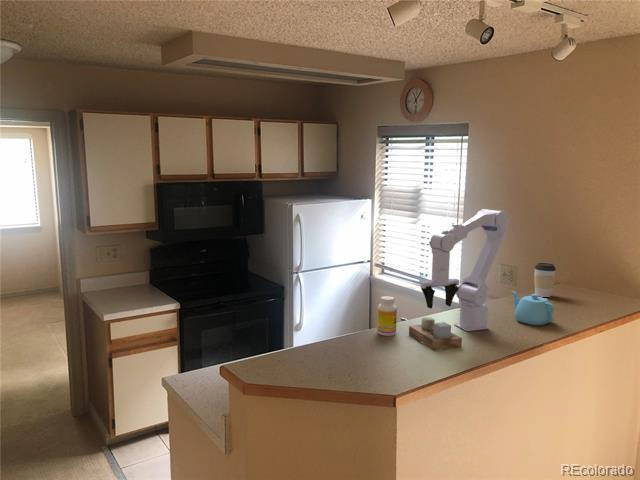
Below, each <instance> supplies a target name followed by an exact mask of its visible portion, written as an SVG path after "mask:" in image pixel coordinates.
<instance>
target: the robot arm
mask: <svg viewBox="0 0 640 480" xmlns="http://www.w3.org/2000/svg"><path fill="white" fill-rule="evenodd" d="M510 224H511V220H510V217H509V214H508V212H507V211H506V210H496V209H495V210H494V209H487V208H482V209H481V210H479V211H477V212H476V214H475V215H474V216H472V217H471V218H470V219H468V220H466V221H465V222H464V223H462V224H461V223H456V222H455V223H453V224H452V226H451V227H448V228H447V229H444V230H443V231H442V232H441V233H440V232H439V233H437V232H436V233H435V234H433V235H432V236H431V237H430V240H429V242H428V243H429V246H430V249H431V254H432V263H431V268H432V269H431V279H428V280H425V281H420V283H419V284H420V287H419V288H420V289H421V291H422V294H423V296H424V300H425V302H426V308H428V309H433V304H434V296H435V292H436V290H435V289H433V288H437V287H444V293H445V305H446V306H448V307H452V303H453V300H454V298H455V295H456V297H457V298H458V301H459V303H460V305H459V307H460V308H459V322H457V323H454V324H453V325H454V326H456V327H458V328H459V329H461V330H464V331H466V332H471V331H479V330H480V331H481V330H489V326H488V319H489V317H488V316H489V310H488V307H487V304H485V302H486V300H487V296H488V291H489V286H488V284H487V282H486V280H487V277H488V275H489V273H490V271H491V268H492V266H493V264H494V261H495V260H496V259H495V258H496V257H497V254H498V252H499V249H500V248H501V245H502V243H503V241H504V237H505V234H506V232H507V230H508V228H509V226H510ZM480 227H481V229H482V231H483V233H484V234H485V235H486V239H485V242H484V244H483V245H482V248H481V249H480V250H481V251H480V253H479V255H478V257H477V260H476V262H475V263H474V266H473V268H472V271H471V273H470V275H469V276H467V277H465V278H463V279H462V281H461V283H460V279H457V278H449V277H450V257H451V252H452V251H453V249H454V247H455V245H456V244H458V243H460V242H461V241H463V240H465V239H466V238H467V236H468V233H470V232H472V231H475V230H476V229H478V228H480Z"/></svg>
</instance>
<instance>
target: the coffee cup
mask: <svg viewBox="0 0 640 480" xmlns="http://www.w3.org/2000/svg"><path fill="white" fill-rule="evenodd" d="M533 269H534V274H533V276H534V277H533V279H534V294H537V295H539V296H541V297H550V296H551V297H552V294H553V288H554V284H555V278H556V271H557V269H556V267H555V265H554V263H549V262H548V263H546V262H538V263H536V265H535V266H534V267H533ZM551 297H550V298H551Z"/></svg>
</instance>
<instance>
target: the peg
mask: <svg viewBox="0 0 640 480" xmlns="http://www.w3.org/2000/svg"><path fill="white" fill-rule="evenodd" d="M451 333H452V325H451V324H449V323H447V322H445V321H441V322H435V323H434V329H433V336H434V337H436V338H437V339H443V338H451Z"/></svg>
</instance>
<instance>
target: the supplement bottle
mask: <svg viewBox="0 0 640 480" xmlns="http://www.w3.org/2000/svg"><path fill="white" fill-rule="evenodd" d="M394 302H395V297H393V296H388V295H385V296H384V295H383V296H380V303H379V304H378V305H377V321H376V322H377V323H376V326H377V327H376V333H377V334H378V335H381V336H386V337H388V336H389V337H390V336H391V335H392V336H394V335H396V334H397V319H398V318H397V313H398V310H397V308H398V307H397V306H396V304H395V303H394Z"/></svg>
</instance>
